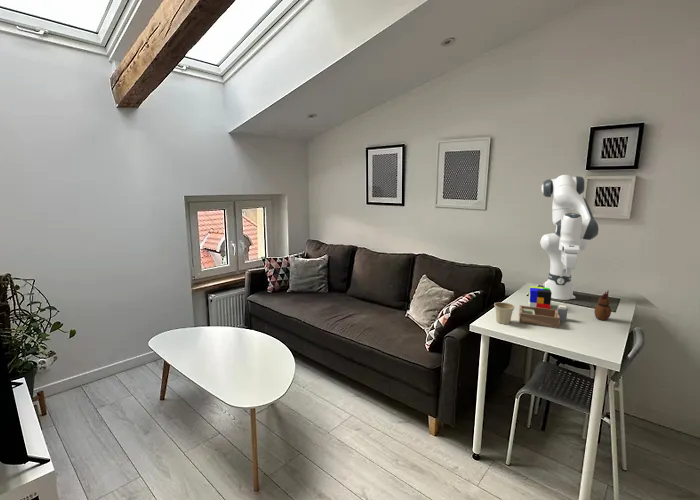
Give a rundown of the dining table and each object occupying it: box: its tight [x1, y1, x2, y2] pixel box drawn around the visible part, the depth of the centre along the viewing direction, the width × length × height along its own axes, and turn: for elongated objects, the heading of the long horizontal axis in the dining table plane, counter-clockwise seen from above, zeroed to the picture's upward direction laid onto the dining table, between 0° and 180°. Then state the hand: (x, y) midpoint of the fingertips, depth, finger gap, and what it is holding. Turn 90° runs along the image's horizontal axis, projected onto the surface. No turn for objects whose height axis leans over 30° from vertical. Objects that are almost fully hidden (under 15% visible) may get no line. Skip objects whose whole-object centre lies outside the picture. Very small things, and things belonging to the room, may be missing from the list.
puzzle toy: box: [527, 285, 552, 309], centre depth 202 cm, size 10×10×10 cm
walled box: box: [518, 304, 561, 329], centre depth 180 cm, size 13×17×5 cm
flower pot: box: [493, 301, 516, 325], centre depth 178 cm, size 9×9×9 cm
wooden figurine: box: [593, 290, 612, 321], centre depth 182 cm, size 7×6×15 cm
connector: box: [556, 304, 568, 322], centre depth 182 cm, size 4×4×7 cm
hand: (566, 274), depth 179 cm, fingers open, 8 cm apart
